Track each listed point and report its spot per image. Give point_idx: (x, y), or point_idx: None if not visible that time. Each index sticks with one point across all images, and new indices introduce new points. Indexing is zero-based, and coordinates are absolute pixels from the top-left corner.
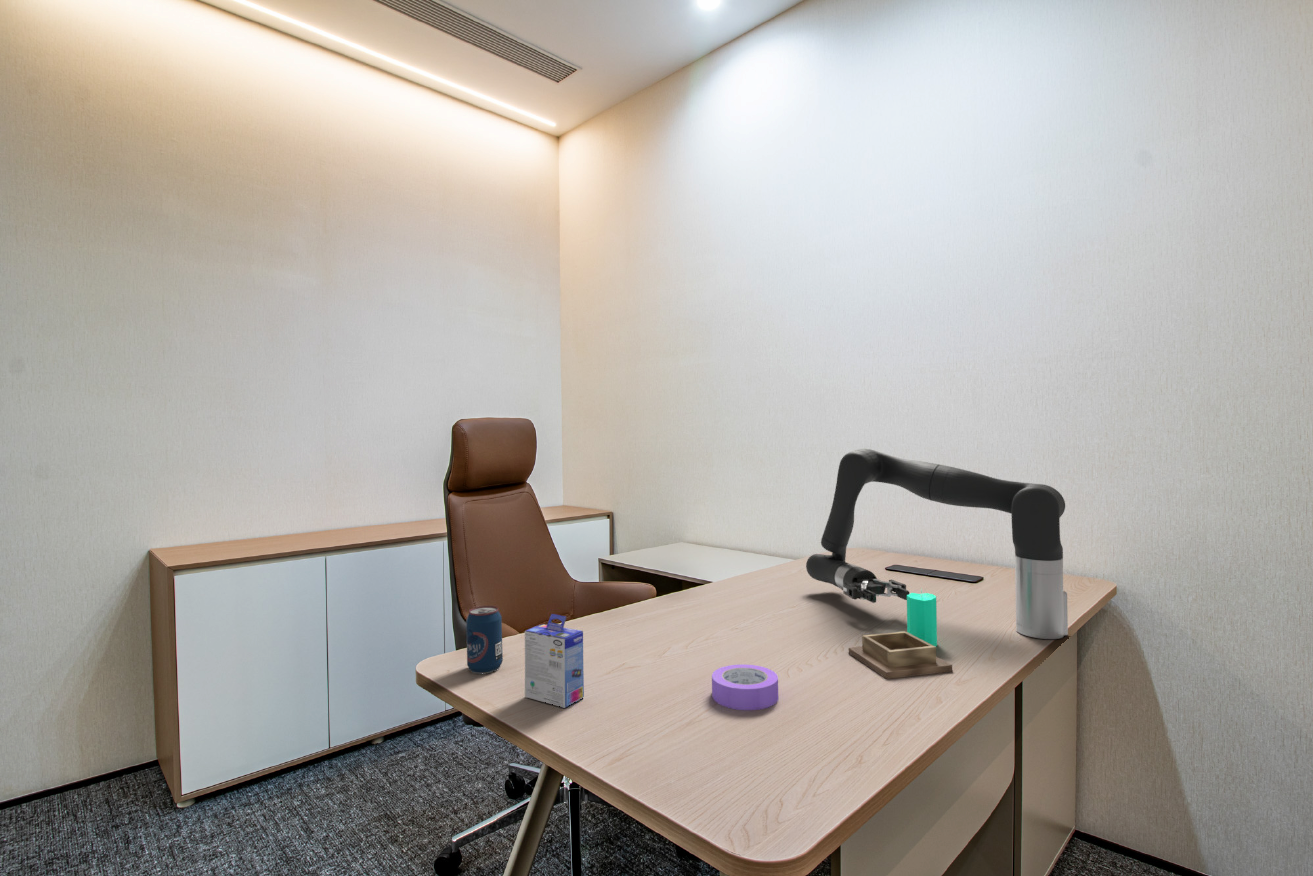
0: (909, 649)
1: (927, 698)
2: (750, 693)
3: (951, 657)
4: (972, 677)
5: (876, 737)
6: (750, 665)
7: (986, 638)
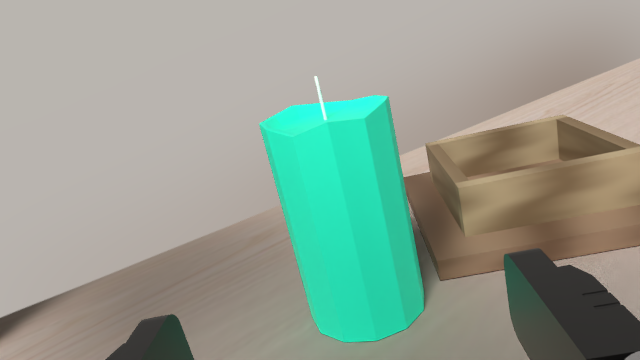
0: (502, 128)
1: None
2: None
3: None
4: None
5: (621, 86)
6: None
7: (101, 344)
